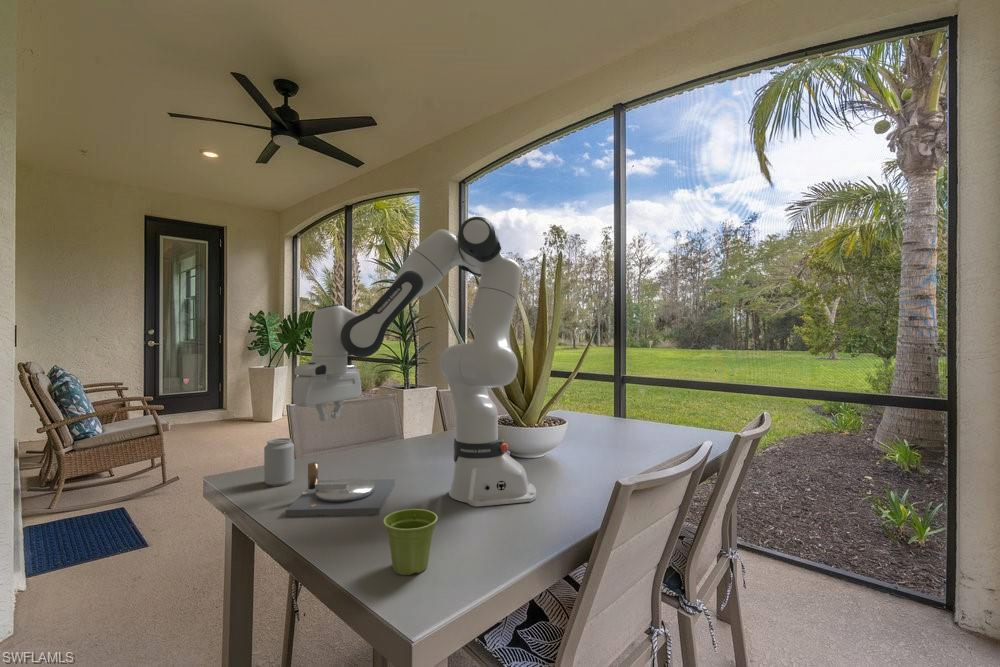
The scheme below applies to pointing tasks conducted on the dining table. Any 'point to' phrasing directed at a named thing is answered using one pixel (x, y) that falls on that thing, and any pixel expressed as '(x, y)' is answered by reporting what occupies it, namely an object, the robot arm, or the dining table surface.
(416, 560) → the plant pot
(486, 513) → the dining table surface
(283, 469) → the can
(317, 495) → the dial
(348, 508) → the dial plate
